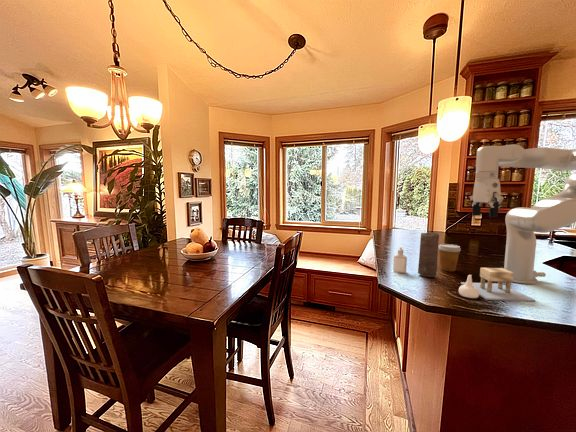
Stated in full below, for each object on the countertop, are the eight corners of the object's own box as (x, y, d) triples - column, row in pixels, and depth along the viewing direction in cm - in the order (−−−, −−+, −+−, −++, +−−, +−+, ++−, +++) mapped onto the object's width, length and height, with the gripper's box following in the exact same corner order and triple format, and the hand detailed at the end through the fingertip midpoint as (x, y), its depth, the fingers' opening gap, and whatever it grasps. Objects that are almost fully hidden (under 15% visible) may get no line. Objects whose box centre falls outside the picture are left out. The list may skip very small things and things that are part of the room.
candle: (439, 279, 111) (441, 234, 109) (420, 278, 112) (423, 234, 110) (432, 274, 118) (435, 231, 116) (415, 273, 119) (417, 231, 118)
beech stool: (500, 287, 100) (502, 268, 99) (511, 293, 94) (513, 272, 94) (478, 287, 101) (480, 267, 100) (488, 292, 95) (490, 271, 94)
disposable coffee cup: (459, 268, 127) (460, 245, 126) (459, 273, 119) (461, 248, 118) (437, 265, 132) (438, 243, 131) (436, 270, 124) (437, 246, 123)
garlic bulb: (458, 292, 98) (457, 272, 98) (478, 294, 95) (477, 273, 95) (459, 298, 93) (458, 276, 93) (480, 300, 90) (479, 278, 89)
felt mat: (501, 285, 105) (501, 283, 104) (535, 301, 89) (535, 299, 89) (460, 283, 106) (460, 282, 106) (486, 299, 90) (486, 298, 90)
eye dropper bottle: (400, 274, 119) (401, 248, 117) (391, 270, 124) (392, 246, 123) (407, 272, 120) (408, 248, 119) (398, 269, 125) (399, 245, 124)
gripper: (513, 174, 99) (510, 218, 101) (480, 177, 116) (478, 214, 118) (493, 175, 99) (491, 218, 101) (463, 177, 116) (462, 214, 118)
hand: (484, 216), depth 109 cm, fingers open, 9 cm apart
